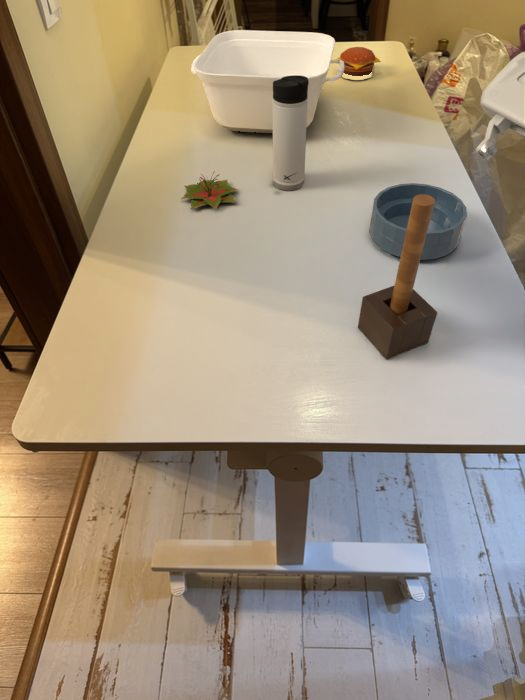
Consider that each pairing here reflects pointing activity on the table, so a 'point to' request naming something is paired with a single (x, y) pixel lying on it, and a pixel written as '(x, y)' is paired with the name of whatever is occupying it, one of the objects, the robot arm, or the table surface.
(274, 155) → the travel mug
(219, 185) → the lily flower
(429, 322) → the holder
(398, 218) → the bowl
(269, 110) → the white plastic tub
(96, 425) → the table surface
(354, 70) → the hamburger
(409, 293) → the stirring stick
